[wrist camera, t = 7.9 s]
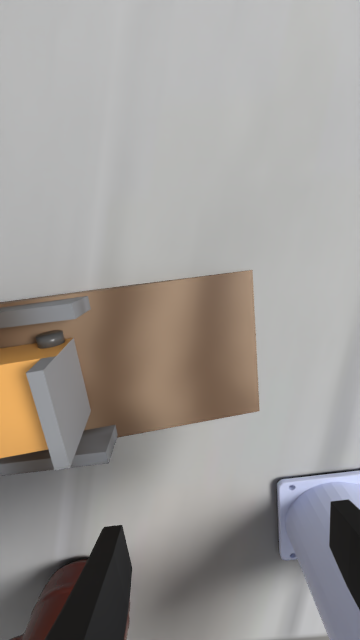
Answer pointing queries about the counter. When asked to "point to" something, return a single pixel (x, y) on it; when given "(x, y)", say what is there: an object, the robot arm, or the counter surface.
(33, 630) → the mug
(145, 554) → the counter surface
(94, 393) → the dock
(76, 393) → the orange block with knobs
